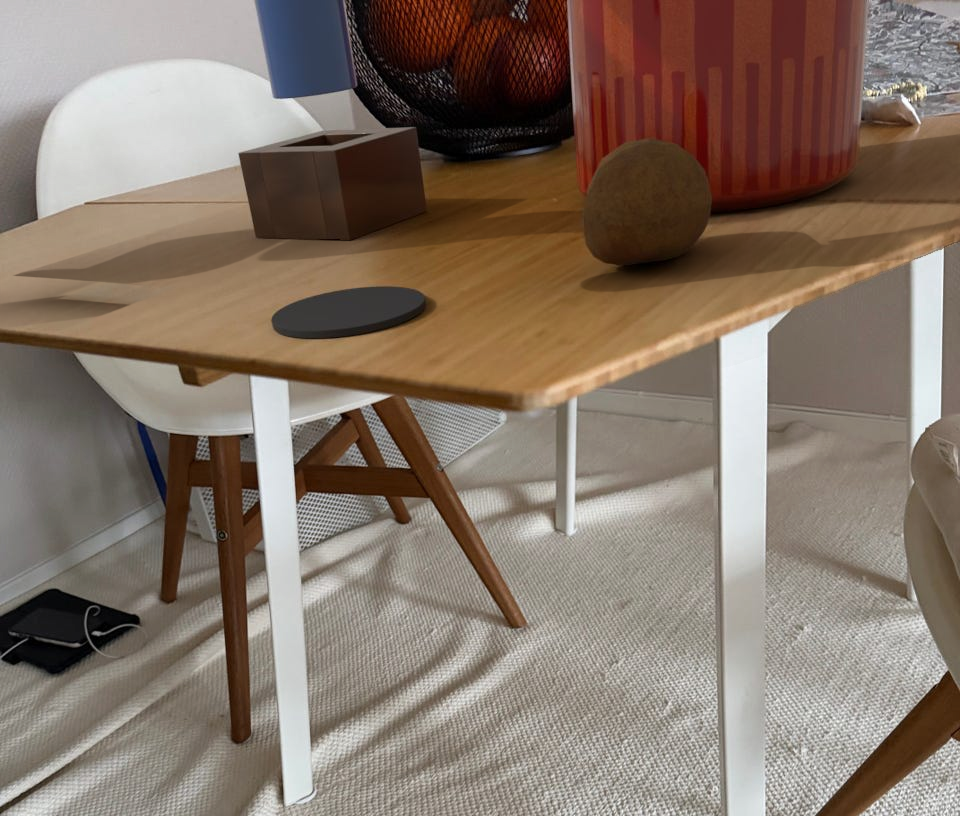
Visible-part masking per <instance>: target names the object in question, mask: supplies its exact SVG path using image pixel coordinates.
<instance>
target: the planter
mask: <svg viewBox="0 0 960 816" xmlns="http://www.w3.org/2000/svg"><path fill="white" fill-rule="evenodd" d="M869 3H870V0H566V12H567V13H566V14H567V32H568V49H569V50H568V51H569V67H570V86H571V101H572V102H571V103H572V119H573V134H574V135H573V136H574V151H575V153H574V154H575V168H576V184H577V189H578V191H579V192H580V194H582V195H583V196H584V198H586V196H587V191H588V186H589V184H590V182H591V180H592V178H593V176H594V174H595V172H596V170H597V168H598V166H599V164H600V162H601V160H602V158H604V157H605V156H607V155H608V154H609V153H611V152H612V151H614V150H615V149H617V148H618V147H619V146H621V145H622V144H624V143H626V142H631V141H637V140H643V139H649V138H652V139H656V140H661V141H665V142H670V143H674V144H677V145H678V146H680V147H681V148H683V149H684V150H685V151H687V152H688V153H690V154H692V155H693V156H694V157H695V158H696V159H697V161H698V162H699V163H700V165H701V166H702V167H703V169H704V170H705V172H706V176H707V178H708V182H709V187H710V192H711V197H712V202H711V211H710V214H713V213H715V214H716V213H725V212H736V211H744V210H751V209H758V208H764V207H769V206H776V205H781V204H785V203H790V202H794V201H798V200H801V199H806V198H809V197H811V196H814V195H817V194H820V193H822V192H824V191H827V190H828V189H831V188H832V187H834V186H836V185H837V184H839V183H840V182H842V181H843V180H845V179H846V178H847V177H848V176H849V175H851V174H852V173H853V171H854V170H855V169H856V167H857V166H858V162H859V155H860V154H859V153H860V140H861V125H862V112H863V111H862V109H863V96H864V94H863V93H864V81H865V80H864V79H865V63H866V49H867V48H866V47H867V33H868V16H869Z"/></svg>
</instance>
